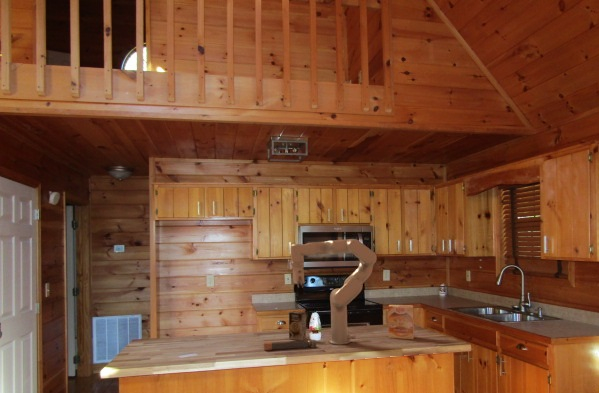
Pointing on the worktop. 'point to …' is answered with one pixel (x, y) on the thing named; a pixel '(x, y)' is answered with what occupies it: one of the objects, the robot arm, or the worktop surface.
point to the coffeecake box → (401, 321)
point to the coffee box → (297, 325)
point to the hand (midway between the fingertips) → (298, 293)
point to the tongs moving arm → (287, 345)
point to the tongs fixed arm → (300, 340)
